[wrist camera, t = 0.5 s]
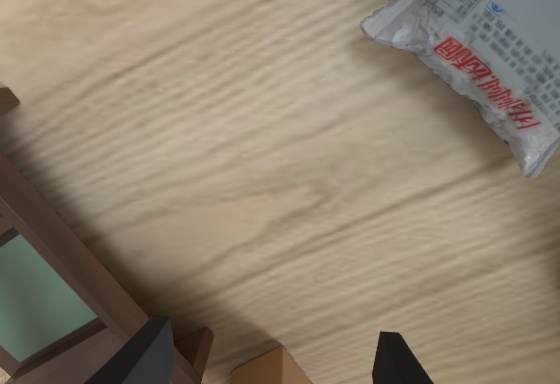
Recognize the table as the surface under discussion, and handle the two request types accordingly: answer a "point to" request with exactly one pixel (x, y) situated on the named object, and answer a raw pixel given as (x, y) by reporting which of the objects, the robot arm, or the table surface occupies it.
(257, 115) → the table surface
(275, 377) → the parcel
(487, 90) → the packaged food
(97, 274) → the rack
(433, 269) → the table surface
